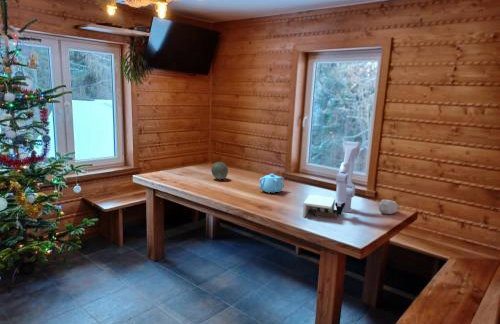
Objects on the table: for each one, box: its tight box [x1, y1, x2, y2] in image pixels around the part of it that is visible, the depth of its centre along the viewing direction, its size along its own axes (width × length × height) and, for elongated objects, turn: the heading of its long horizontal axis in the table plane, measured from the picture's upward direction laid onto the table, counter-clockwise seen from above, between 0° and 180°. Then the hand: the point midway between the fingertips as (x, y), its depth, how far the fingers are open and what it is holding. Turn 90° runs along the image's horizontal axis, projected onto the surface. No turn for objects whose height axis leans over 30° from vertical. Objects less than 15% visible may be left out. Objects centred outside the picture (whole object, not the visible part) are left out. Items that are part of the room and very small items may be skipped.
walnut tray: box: [315, 206, 338, 220], centre depth 209 cm, size 8×12×6 cm, turn 70°
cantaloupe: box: [210, 161, 229, 181], centre depth 289 cm, size 14×14×15 cm
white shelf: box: [302, 194, 336, 218], centre depth 211 cm, size 20×16×9 cm
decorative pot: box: [258, 173, 285, 194], centre depth 258 cm, size 16×16×14 cm
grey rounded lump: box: [378, 199, 399, 215], centre depth 219 cm, size 9×11×15 cm
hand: (339, 214), depth 208 cm, fingers closed, pressing on walnut tray
